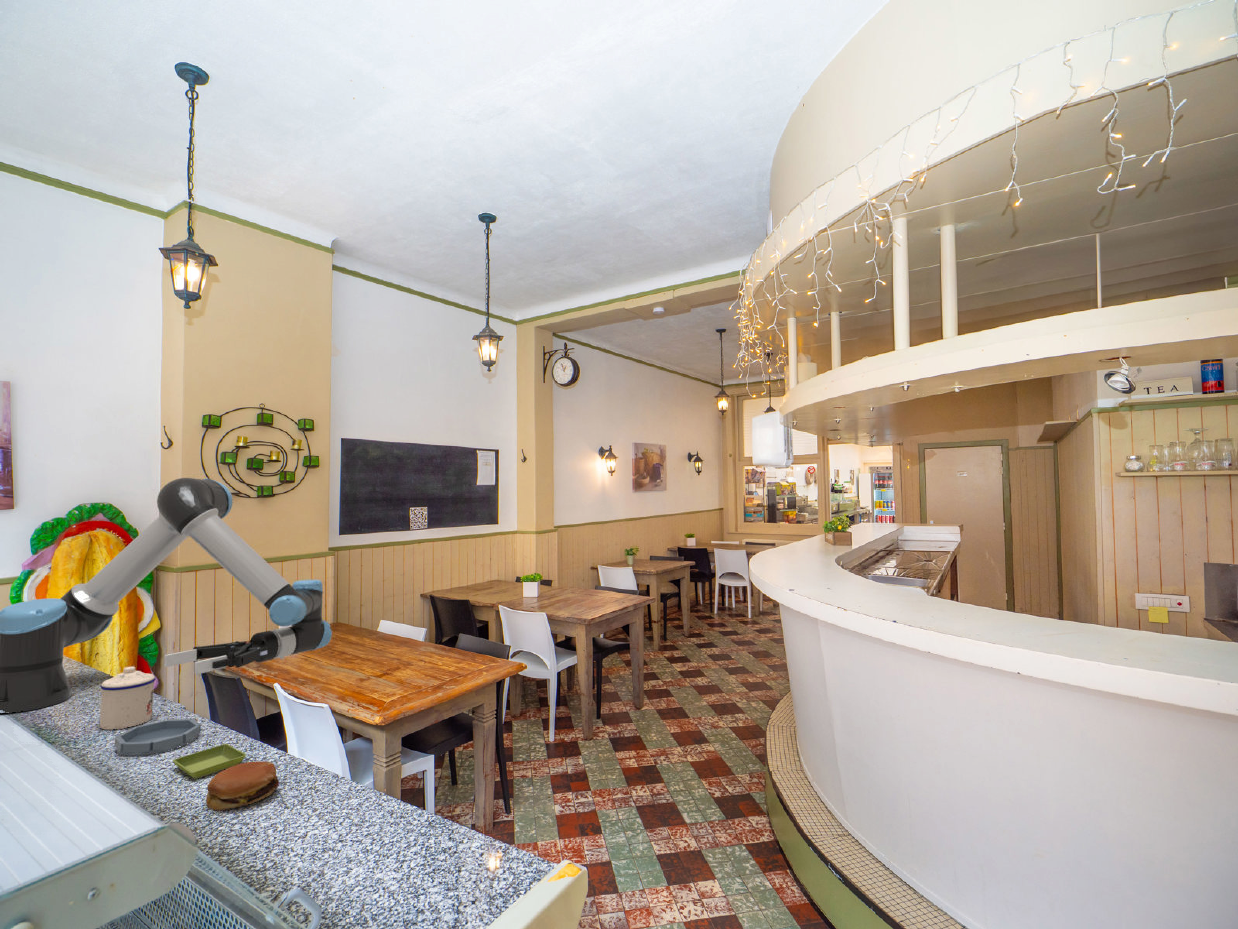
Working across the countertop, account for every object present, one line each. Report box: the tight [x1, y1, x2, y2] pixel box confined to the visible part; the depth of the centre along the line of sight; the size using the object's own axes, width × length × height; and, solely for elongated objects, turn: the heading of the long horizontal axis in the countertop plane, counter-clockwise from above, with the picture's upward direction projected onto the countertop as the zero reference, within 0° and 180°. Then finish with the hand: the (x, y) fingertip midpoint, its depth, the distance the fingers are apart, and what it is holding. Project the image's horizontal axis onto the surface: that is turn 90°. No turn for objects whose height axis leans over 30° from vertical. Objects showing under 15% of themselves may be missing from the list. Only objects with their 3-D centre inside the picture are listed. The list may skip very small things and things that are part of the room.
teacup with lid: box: [99, 666, 156, 731], centre depth 127 cm, size 12×9×12 cm
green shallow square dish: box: [172, 743, 247, 780], centre depth 105 cm, size 9×9×2 cm
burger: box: [205, 760, 280, 811], centre depth 94 cm, size 10×9×5 cm
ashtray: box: [114, 718, 202, 757], centre depth 116 cm, size 13×13×2 cm
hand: (179, 664), depth 136 cm, fingers open, 13 cm apart
